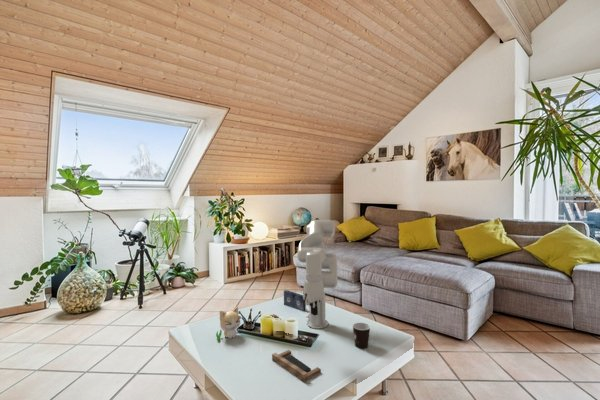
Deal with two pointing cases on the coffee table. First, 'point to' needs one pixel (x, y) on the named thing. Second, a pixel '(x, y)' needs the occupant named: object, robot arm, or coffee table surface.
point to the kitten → (229, 323)
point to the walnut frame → (293, 366)
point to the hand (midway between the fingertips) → (314, 314)
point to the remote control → (298, 363)
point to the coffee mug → (361, 335)
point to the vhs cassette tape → (294, 300)
